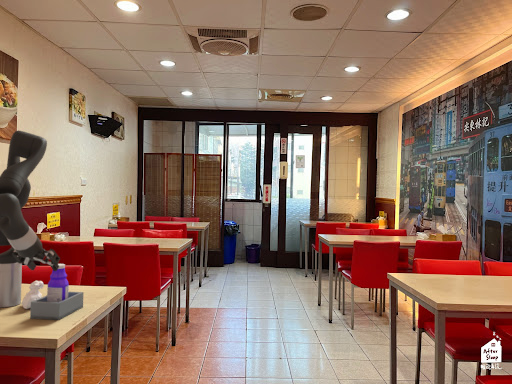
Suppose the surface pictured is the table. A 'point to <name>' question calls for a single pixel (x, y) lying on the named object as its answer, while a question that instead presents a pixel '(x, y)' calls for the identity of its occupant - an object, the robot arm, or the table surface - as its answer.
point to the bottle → (58, 285)
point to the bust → (32, 294)
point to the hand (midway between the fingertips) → (45, 268)
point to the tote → (56, 307)
